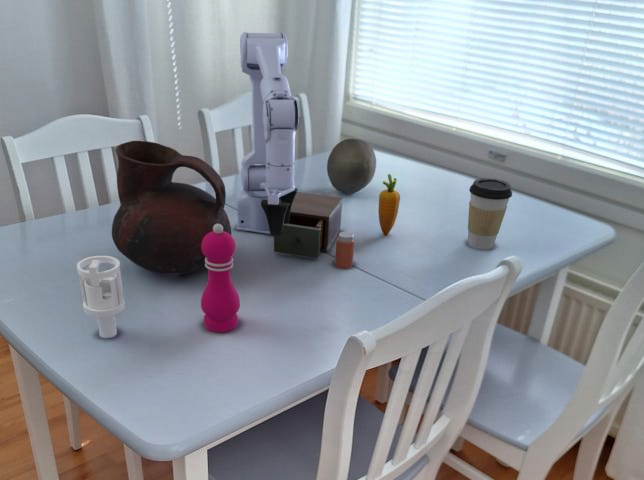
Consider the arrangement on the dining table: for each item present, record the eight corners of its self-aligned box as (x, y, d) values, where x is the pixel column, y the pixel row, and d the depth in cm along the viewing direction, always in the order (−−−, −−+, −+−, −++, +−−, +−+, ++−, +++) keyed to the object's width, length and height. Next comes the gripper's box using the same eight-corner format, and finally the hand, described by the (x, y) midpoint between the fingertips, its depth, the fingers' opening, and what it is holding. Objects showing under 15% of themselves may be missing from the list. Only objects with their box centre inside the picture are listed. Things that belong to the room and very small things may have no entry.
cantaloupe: (315, 194, 189) (317, 140, 180) (341, 181, 198) (345, 130, 190) (358, 205, 182) (362, 150, 174) (383, 192, 192) (389, 139, 184)
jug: (200, 300, 134) (193, 177, 120) (93, 276, 140) (75, 157, 127) (251, 253, 153) (250, 142, 140) (155, 234, 160) (145, 127, 146)
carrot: (394, 240, 163) (401, 180, 155) (374, 238, 164) (380, 177, 155) (396, 233, 167) (403, 173, 159) (376, 230, 168) (382, 171, 159)
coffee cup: (504, 241, 165) (517, 181, 157) (496, 255, 158) (509, 194, 149) (465, 233, 168) (475, 174, 160) (455, 247, 161) (466, 186, 153)
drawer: (316, 260, 149) (318, 232, 145) (272, 254, 151) (272, 225, 148) (331, 238, 160) (332, 211, 157) (289, 232, 162) (290, 205, 159)
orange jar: (333, 266, 149) (335, 236, 145) (337, 259, 152) (339, 230, 148) (350, 269, 148) (353, 239, 144) (354, 262, 151) (356, 232, 148)
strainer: (83, 343, 119) (70, 266, 110) (93, 323, 124) (82, 248, 116) (123, 344, 119) (113, 267, 110) (131, 324, 125) (123, 250, 116)
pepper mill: (202, 315, 129) (197, 216, 118) (240, 314, 129) (238, 216, 118) (200, 334, 123) (195, 232, 112) (240, 334, 123) (238, 232, 112)
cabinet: (326, 252, 156) (329, 217, 151) (279, 245, 158) (280, 210, 153) (340, 231, 167) (342, 197, 162) (295, 224, 169) (296, 191, 164)
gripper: (268, 153, 140) (268, 216, 147) (252, 170, 128) (253, 238, 134) (301, 156, 139) (299, 219, 146) (288, 173, 127) (287, 241, 133)
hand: (279, 228), depth 140 cm, fingers open, 7 cm apart
